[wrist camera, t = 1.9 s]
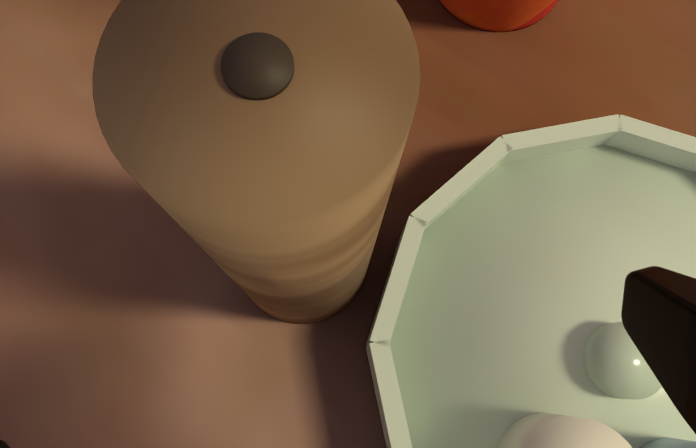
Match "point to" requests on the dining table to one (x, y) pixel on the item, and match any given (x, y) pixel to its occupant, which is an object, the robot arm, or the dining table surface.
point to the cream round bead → (560, 433)
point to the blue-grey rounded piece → (669, 443)
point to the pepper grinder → (265, 133)
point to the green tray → (534, 287)
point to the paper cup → (499, 13)
